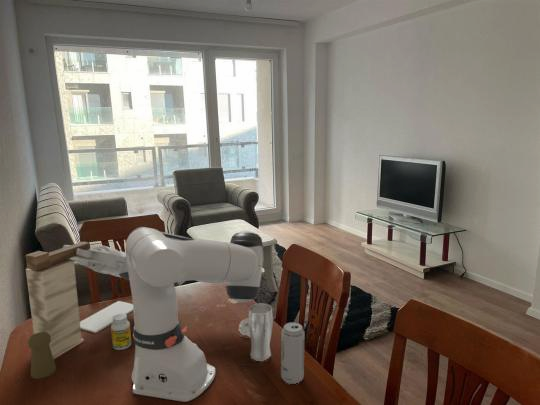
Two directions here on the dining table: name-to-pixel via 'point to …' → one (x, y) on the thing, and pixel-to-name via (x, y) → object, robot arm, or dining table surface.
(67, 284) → the stand
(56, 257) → the mallet
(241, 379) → the dining table surface
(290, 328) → the energy drink can
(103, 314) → the mat
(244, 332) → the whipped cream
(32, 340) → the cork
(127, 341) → the supplement bottle
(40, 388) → the dining table surface
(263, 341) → the beer glass
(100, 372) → the dining table surface
